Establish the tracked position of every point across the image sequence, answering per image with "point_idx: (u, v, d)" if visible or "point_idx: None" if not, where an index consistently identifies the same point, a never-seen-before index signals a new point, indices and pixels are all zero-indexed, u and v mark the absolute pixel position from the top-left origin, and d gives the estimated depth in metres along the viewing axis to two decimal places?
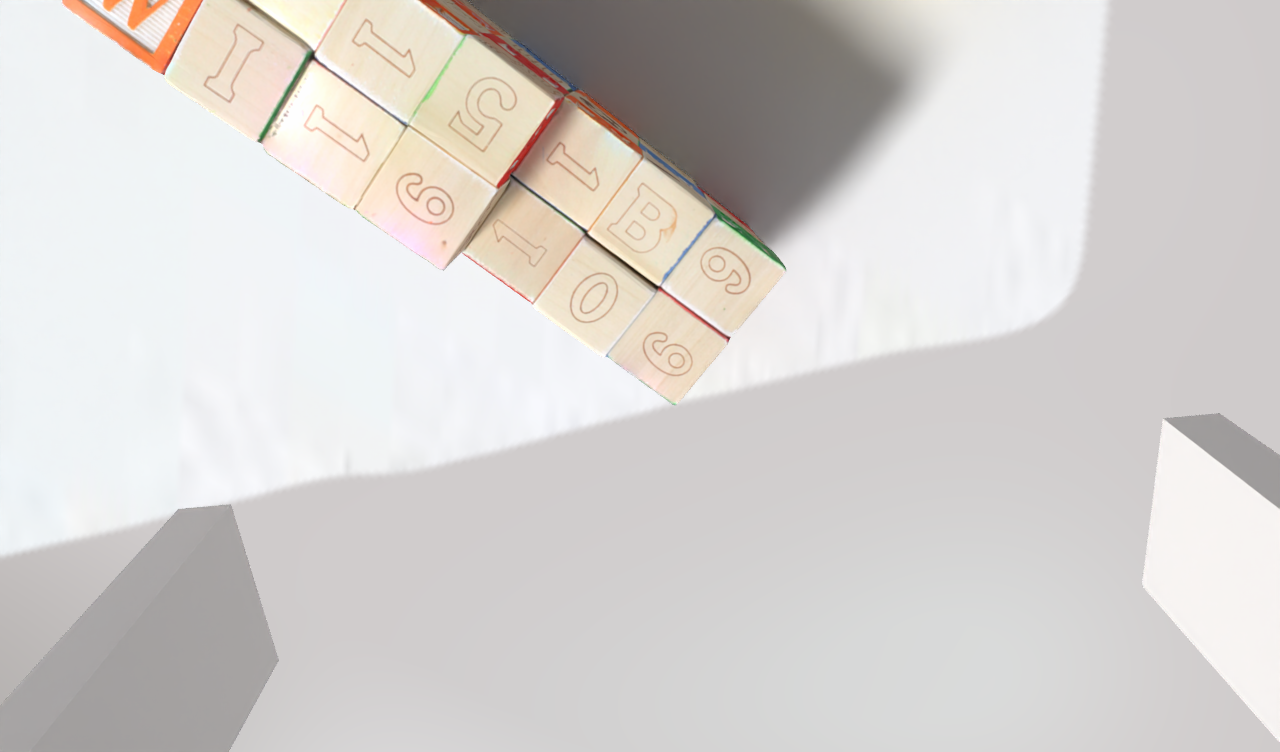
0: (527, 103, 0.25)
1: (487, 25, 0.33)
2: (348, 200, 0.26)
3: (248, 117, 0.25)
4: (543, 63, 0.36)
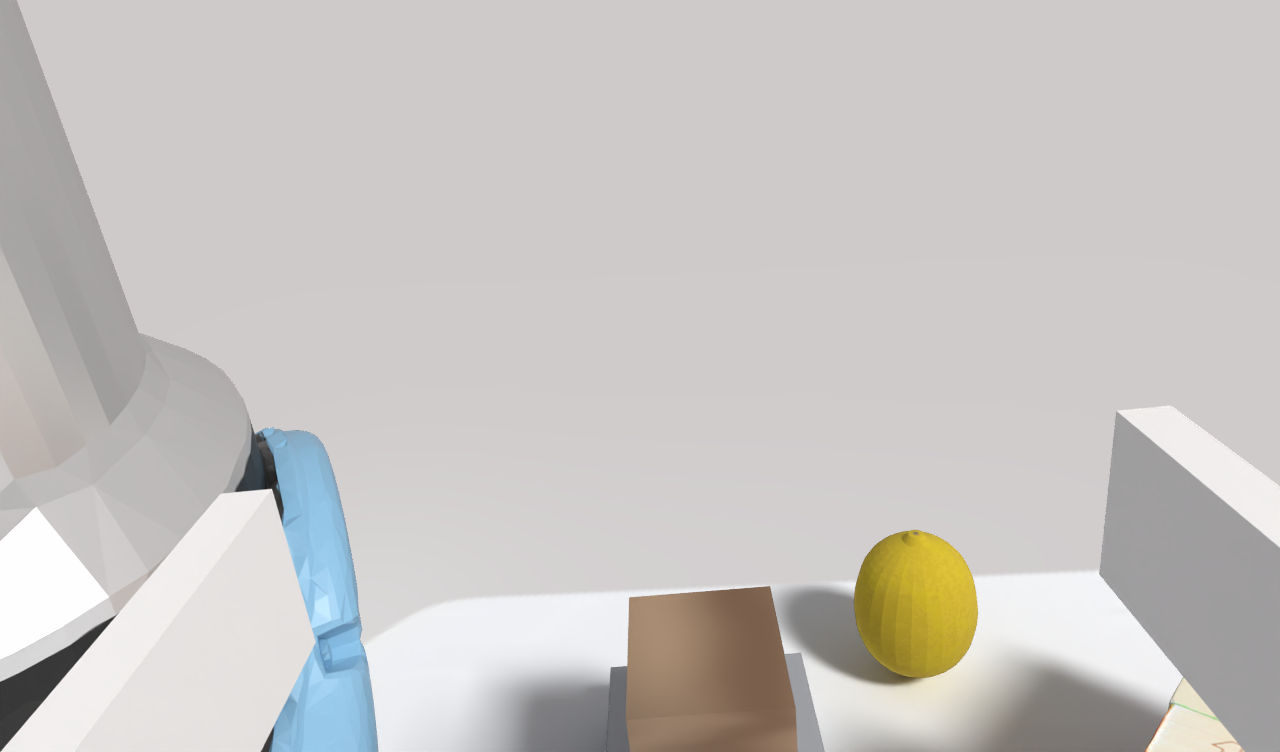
0: None
1: None
2: None
3: None
4: None
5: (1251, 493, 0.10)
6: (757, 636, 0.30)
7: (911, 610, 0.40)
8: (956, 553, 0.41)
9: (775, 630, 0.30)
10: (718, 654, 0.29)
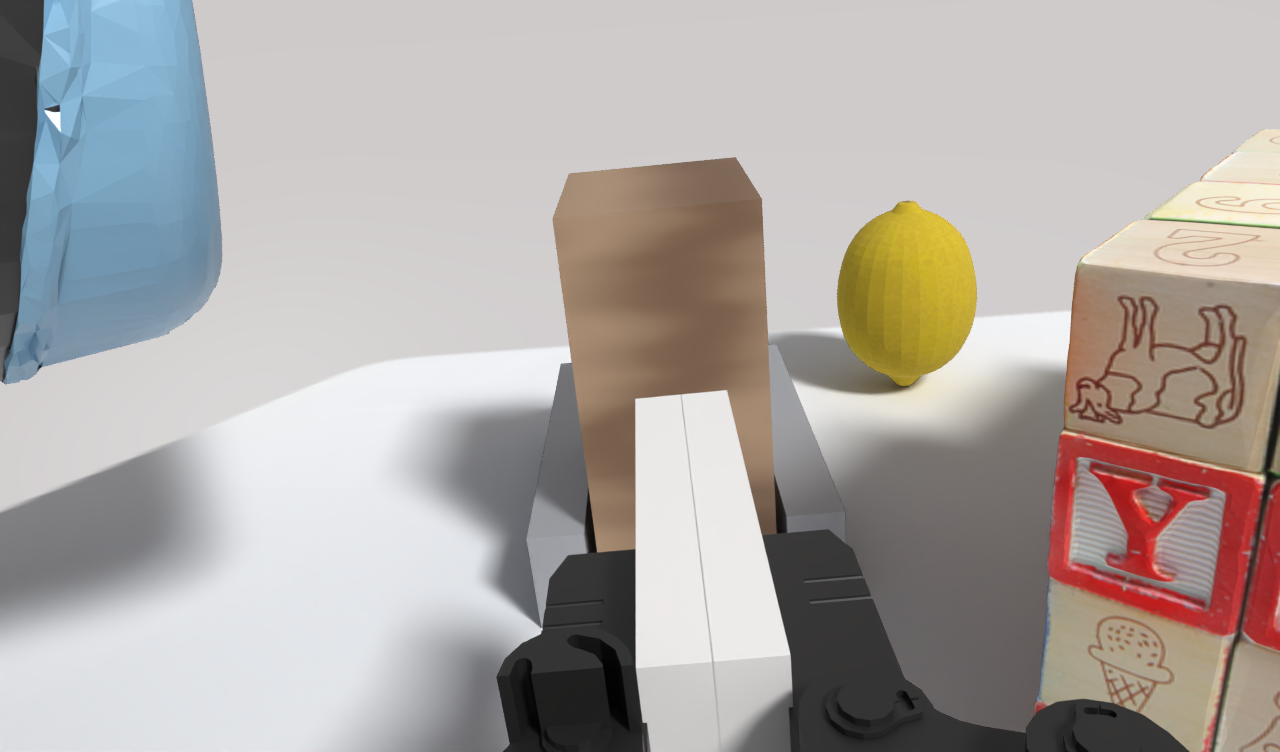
0: None
1: None
2: None
3: None
4: None
5: (715, 460, 0.13)
6: (717, 176, 0.25)
7: (901, 278, 0.35)
8: (952, 226, 0.36)
9: (740, 172, 0.25)
10: (670, 185, 0.24)
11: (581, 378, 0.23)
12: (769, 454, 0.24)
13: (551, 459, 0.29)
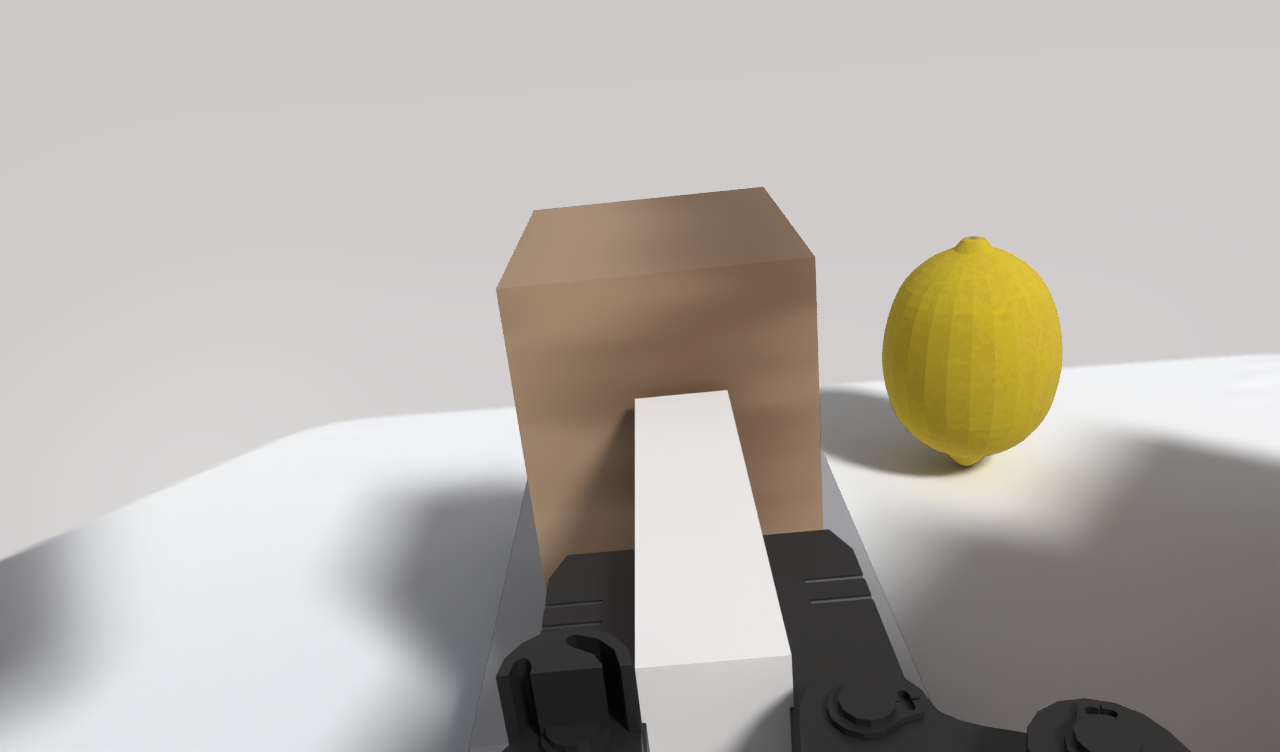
0: None
1: None
2: None
3: None
4: None
5: (716, 460, 0.13)
6: (741, 216, 0.17)
7: (971, 337, 0.27)
8: (1032, 268, 0.29)
9: (774, 210, 0.17)
10: (675, 232, 0.17)
11: (546, 517, 0.16)
12: None
13: (513, 600, 0.22)
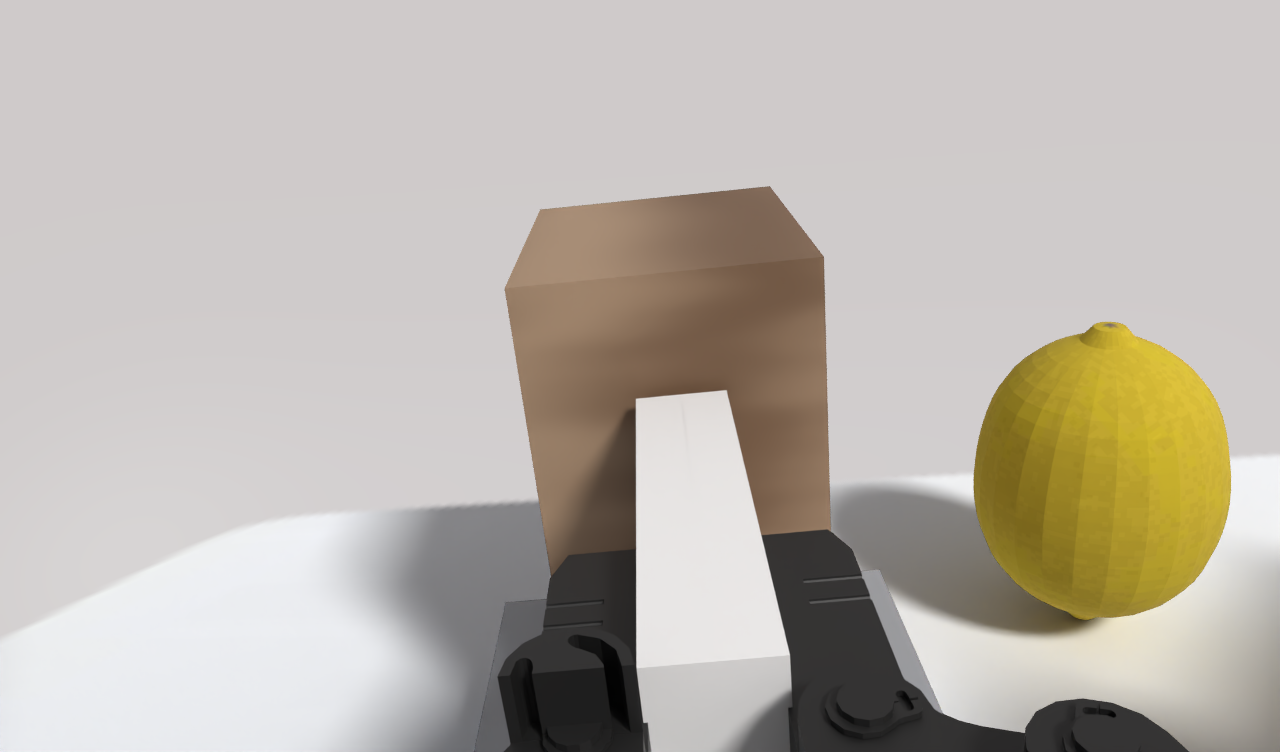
0: None
1: None
2: None
3: None
4: None
5: (714, 460, 0.13)
6: (749, 215, 0.17)
7: (1115, 470, 0.19)
8: (1189, 366, 0.21)
9: (781, 210, 0.17)
10: (682, 232, 0.17)
11: (553, 516, 0.16)
12: None
13: None
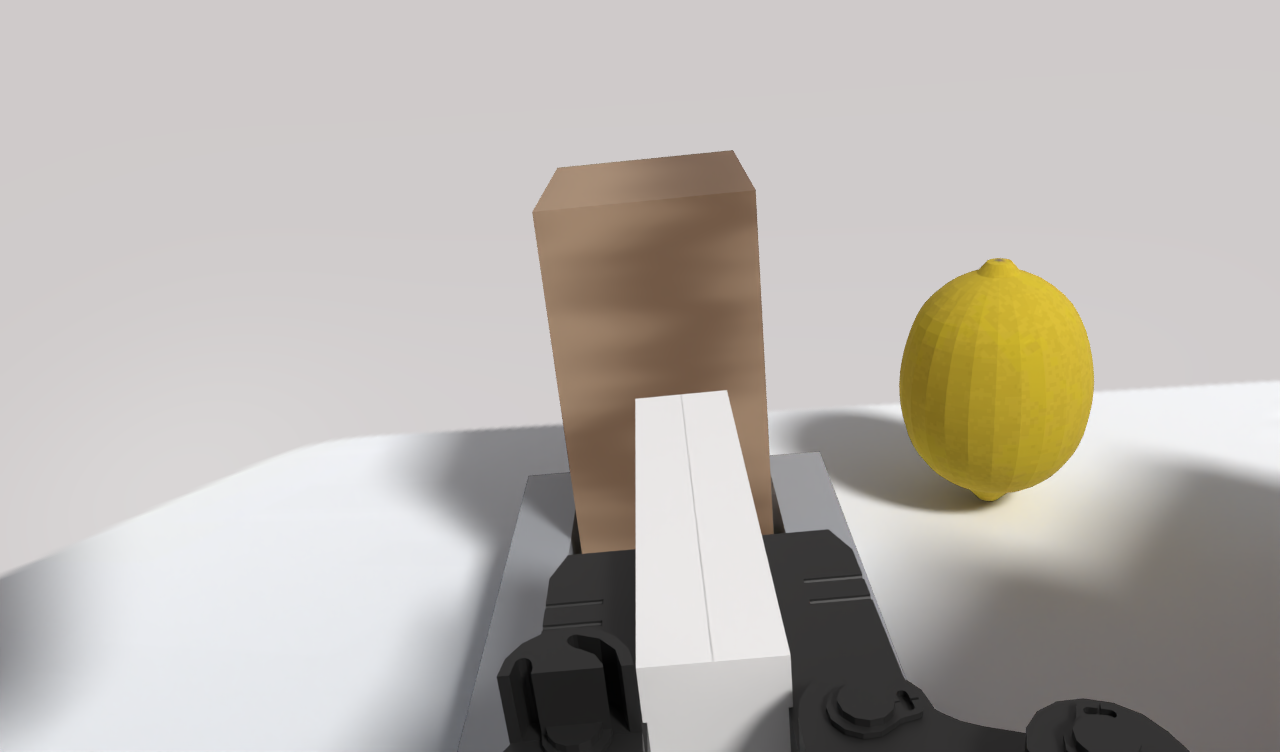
0: None
1: None
2: None
3: None
4: None
5: (715, 460, 0.13)
6: (711, 168, 0.23)
7: (996, 368, 0.25)
8: (1061, 293, 0.27)
9: (736, 164, 0.24)
10: (661, 178, 0.23)
11: (565, 381, 0.22)
12: (766, 463, 0.23)
13: (495, 658, 0.20)
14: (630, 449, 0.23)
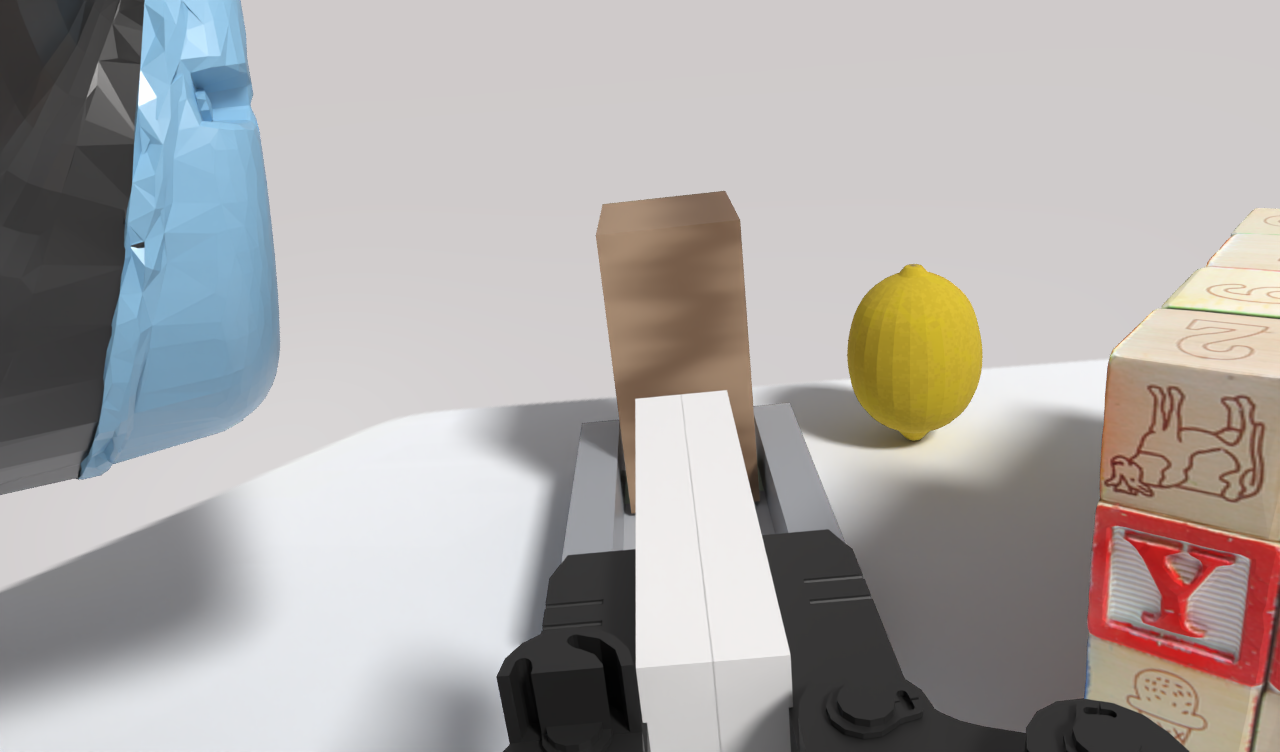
0: (1274, 213, 0.24)
1: None
2: None
3: None
4: None
5: (715, 460, 0.13)
6: (711, 204, 0.35)
7: (909, 339, 0.36)
8: (957, 288, 0.38)
9: (727, 201, 0.35)
10: (677, 212, 0.34)
11: (615, 347, 0.33)
12: (750, 402, 0.34)
13: (576, 523, 0.31)
14: (658, 393, 0.34)
